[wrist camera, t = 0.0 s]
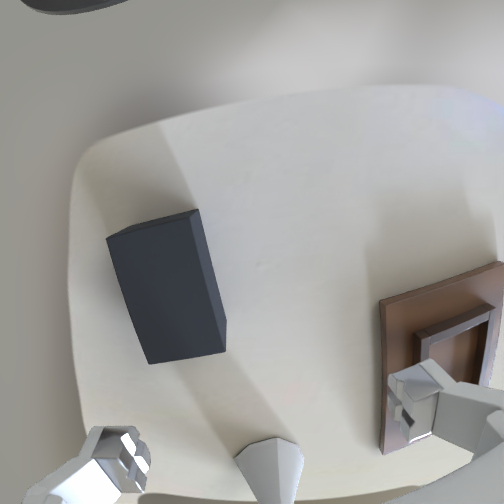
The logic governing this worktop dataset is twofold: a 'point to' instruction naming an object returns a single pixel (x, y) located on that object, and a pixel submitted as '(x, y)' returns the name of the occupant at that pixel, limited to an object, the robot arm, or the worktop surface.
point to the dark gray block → (170, 287)
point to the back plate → (441, 334)
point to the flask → (272, 470)
